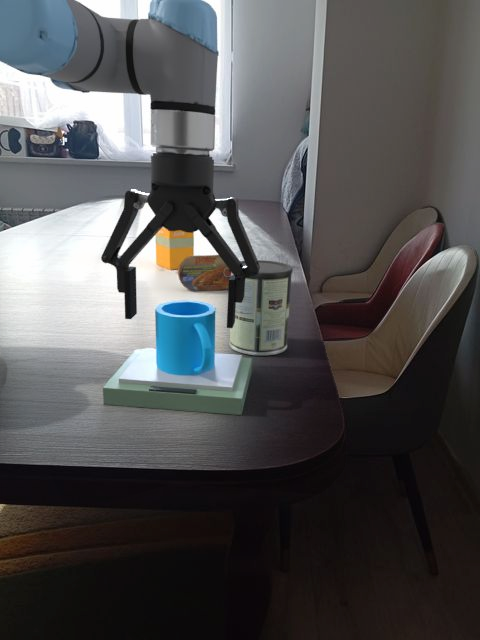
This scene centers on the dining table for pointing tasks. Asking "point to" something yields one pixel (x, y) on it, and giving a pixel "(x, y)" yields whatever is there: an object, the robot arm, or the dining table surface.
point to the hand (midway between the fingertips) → (180, 320)
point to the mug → (185, 337)
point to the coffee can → (263, 311)
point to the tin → (204, 273)
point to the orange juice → (173, 247)
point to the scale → (180, 385)
